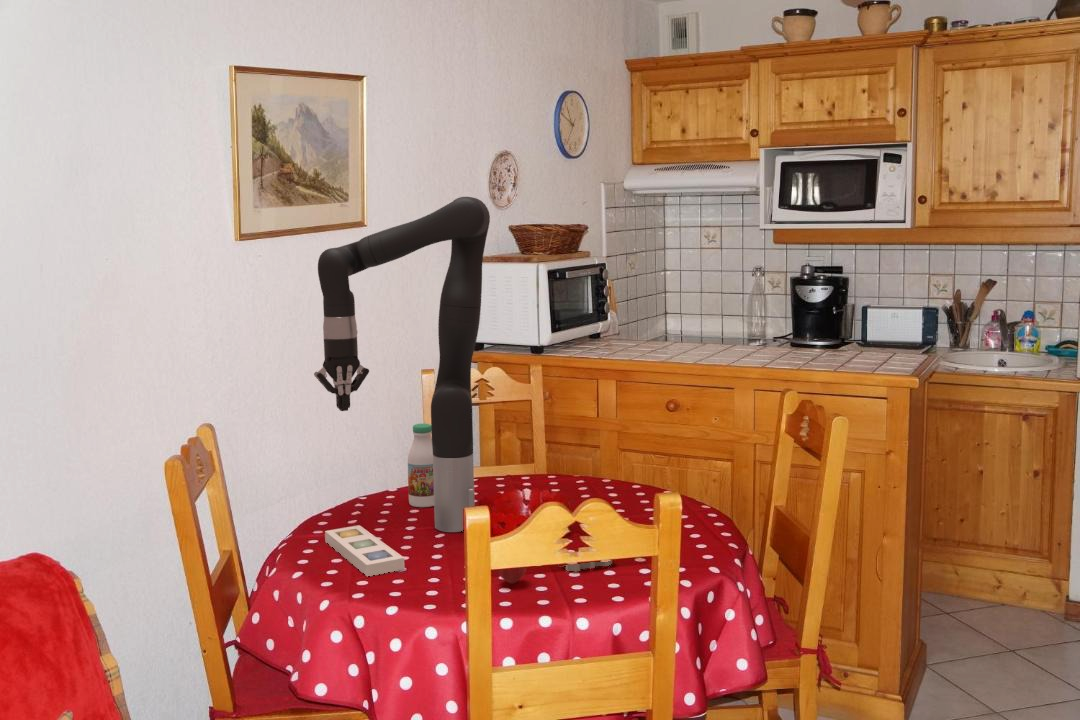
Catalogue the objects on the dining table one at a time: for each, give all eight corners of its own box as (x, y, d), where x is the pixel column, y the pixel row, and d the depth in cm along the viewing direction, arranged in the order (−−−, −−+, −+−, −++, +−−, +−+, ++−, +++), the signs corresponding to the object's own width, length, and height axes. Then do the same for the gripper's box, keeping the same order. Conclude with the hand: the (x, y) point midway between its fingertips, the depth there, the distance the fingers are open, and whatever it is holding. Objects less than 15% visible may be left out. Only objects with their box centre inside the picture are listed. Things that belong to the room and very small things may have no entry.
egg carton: (567, 575, 210) (567, 556, 209) (554, 563, 217) (554, 544, 216) (616, 568, 213) (616, 548, 213) (601, 556, 220) (601, 538, 220)
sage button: (368, 548, 225) (368, 539, 225) (375, 553, 222) (375, 544, 221) (351, 551, 223) (350, 542, 223) (357, 556, 220) (357, 547, 219)
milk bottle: (406, 501, 263) (403, 423, 260) (436, 498, 265) (434, 420, 263) (412, 509, 256) (409, 429, 253) (443, 506, 258) (440, 426, 255)
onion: (523, 590, 201) (522, 550, 200) (494, 588, 202) (493, 548, 201) (529, 579, 207) (529, 540, 206) (501, 577, 208) (500, 539, 207)
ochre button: (355, 537, 232) (354, 529, 232) (361, 542, 229) (361, 533, 229) (337, 540, 231) (337, 532, 230) (343, 545, 227) (343, 536, 227)
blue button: (383, 559, 218) (383, 550, 218) (390, 564, 214) (390, 555, 214) (365, 562, 216) (364, 553, 216) (372, 568, 212) (371, 559, 212)
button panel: (359, 535, 236) (359, 525, 235) (404, 569, 213) (404, 557, 213) (325, 542, 232) (324, 531, 231) (367, 576, 209) (366, 564, 209)
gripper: (362, 332, 245) (365, 404, 247) (306, 336, 238) (310, 410, 241) (373, 335, 239) (376, 409, 241) (317, 339, 232) (320, 416, 235)
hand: (343, 410), depth 241 cm, fingers closed
